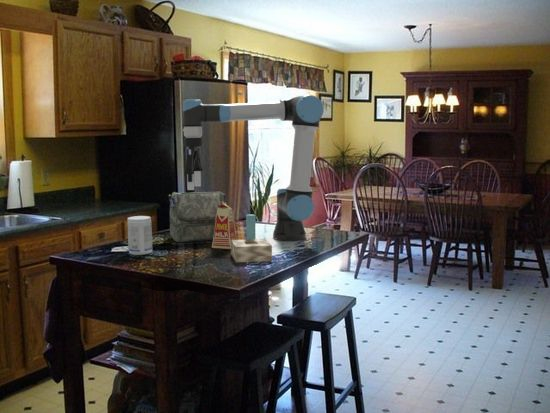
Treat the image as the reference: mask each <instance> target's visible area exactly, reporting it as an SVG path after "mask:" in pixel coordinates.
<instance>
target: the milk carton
mask: <svg viewBox="0 0 550 413" xmlns="http://www.w3.org/2000/svg"><path fill="white" fill-rule="evenodd" d="M231 240H237V233H236V227H235V220H234V212H233V209H232V208H231V207H230V206H229V205H227V202H225V201H224V202H223V201H222V204H221V205H220V206H219V207H218V208H217V214H216V218H215V231H214V237H213V240H212V242H211V243H212V244H211V248H212V249H227V250H231Z"/></svg>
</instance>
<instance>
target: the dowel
mask: <svg viewBox="0 0 550 413" xmlns="http://www.w3.org/2000/svg"><path fill="white" fill-rule="evenodd" d="M245 222H246V223H245V226H246V231H245V233H246V235H245V240H248V239H257V238H256V215H255V214H246V215H245Z"/></svg>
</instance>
